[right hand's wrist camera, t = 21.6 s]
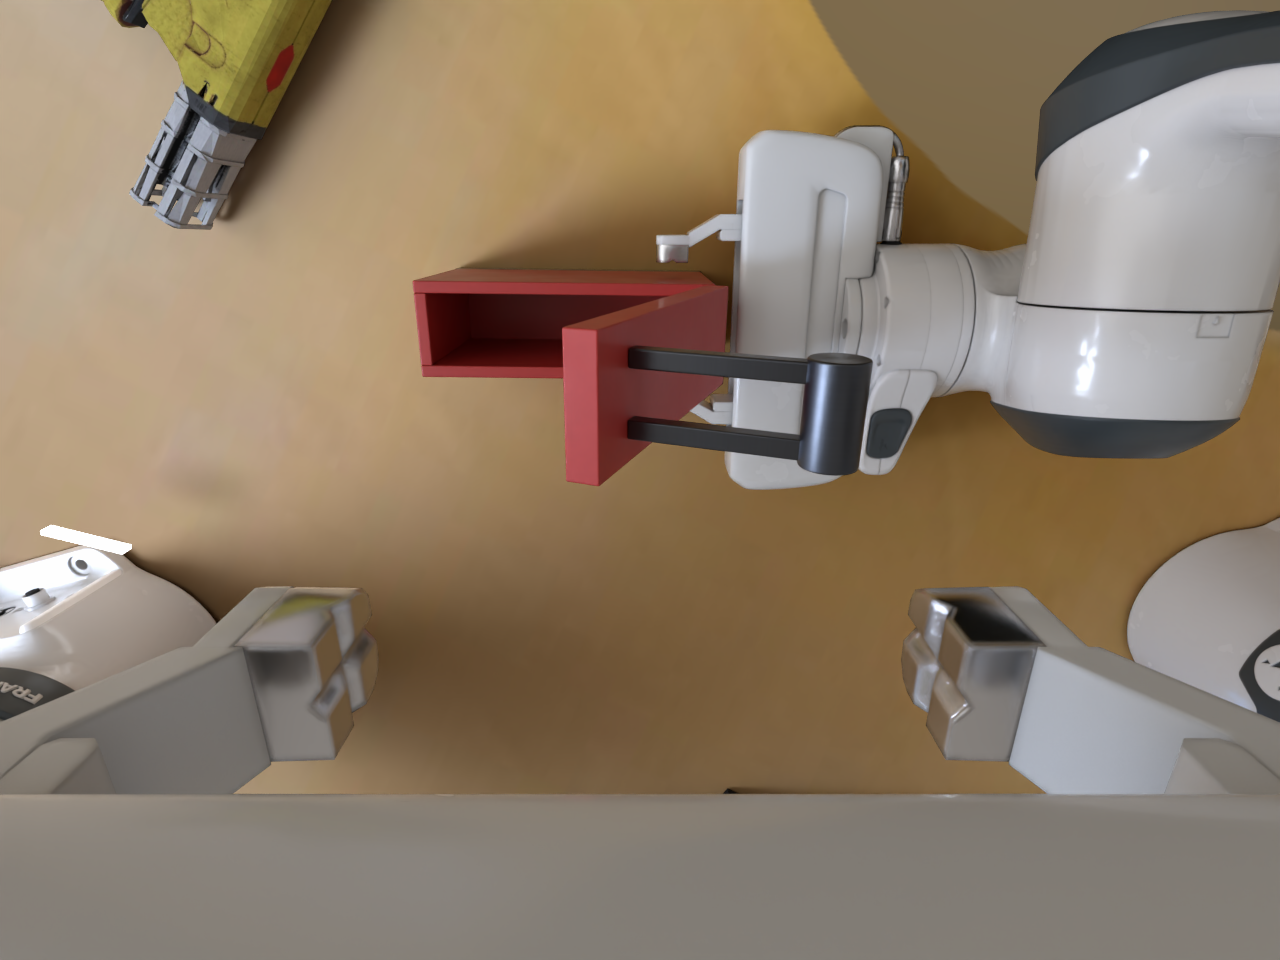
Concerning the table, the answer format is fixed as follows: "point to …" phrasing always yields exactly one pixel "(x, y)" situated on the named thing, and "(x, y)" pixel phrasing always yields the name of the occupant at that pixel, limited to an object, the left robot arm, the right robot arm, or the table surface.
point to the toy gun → (216, 92)
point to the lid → (696, 390)
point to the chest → (523, 315)
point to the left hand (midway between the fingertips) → (655, 322)
